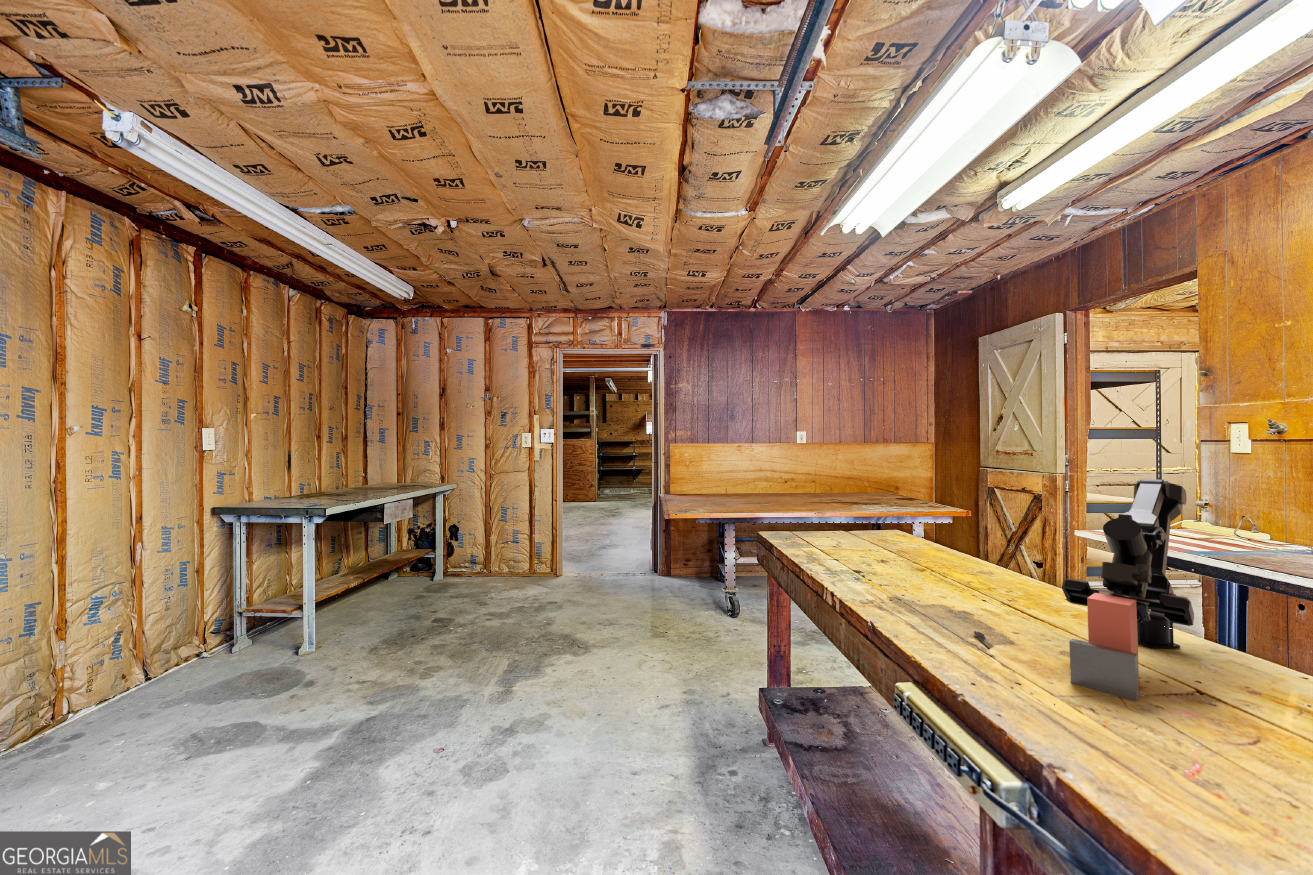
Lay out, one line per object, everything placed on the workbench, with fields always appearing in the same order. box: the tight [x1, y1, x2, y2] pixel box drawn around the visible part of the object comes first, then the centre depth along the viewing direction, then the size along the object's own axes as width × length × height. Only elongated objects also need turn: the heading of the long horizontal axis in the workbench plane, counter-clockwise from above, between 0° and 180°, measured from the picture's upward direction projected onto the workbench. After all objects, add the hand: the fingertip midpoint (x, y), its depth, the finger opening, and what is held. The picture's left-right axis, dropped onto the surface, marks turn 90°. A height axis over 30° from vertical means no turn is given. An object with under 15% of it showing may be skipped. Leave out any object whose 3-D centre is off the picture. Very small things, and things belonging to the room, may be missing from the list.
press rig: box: [1068, 638, 1145, 703], centre depth 95 cm, size 14×10×9 cm
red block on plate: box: [1086, 593, 1140, 682], centre depth 96 cm, size 5×6×15 cm
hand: (1116, 637), depth 97 cm, fingers closed, pressing on red block on plate
